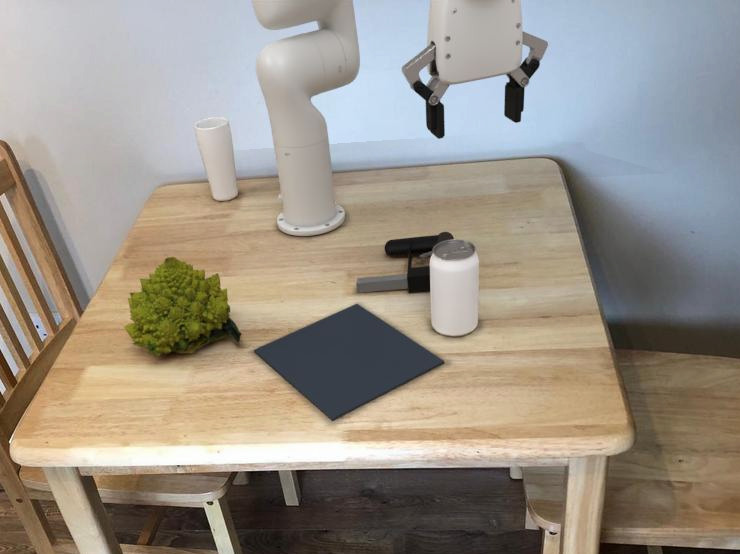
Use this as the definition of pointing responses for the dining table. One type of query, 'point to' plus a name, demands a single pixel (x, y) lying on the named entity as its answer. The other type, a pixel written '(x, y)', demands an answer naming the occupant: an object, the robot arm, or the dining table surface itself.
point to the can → (454, 287)
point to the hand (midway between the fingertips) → (475, 127)
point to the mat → (347, 360)
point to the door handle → (416, 276)
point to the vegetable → (179, 310)
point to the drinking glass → (217, 156)
